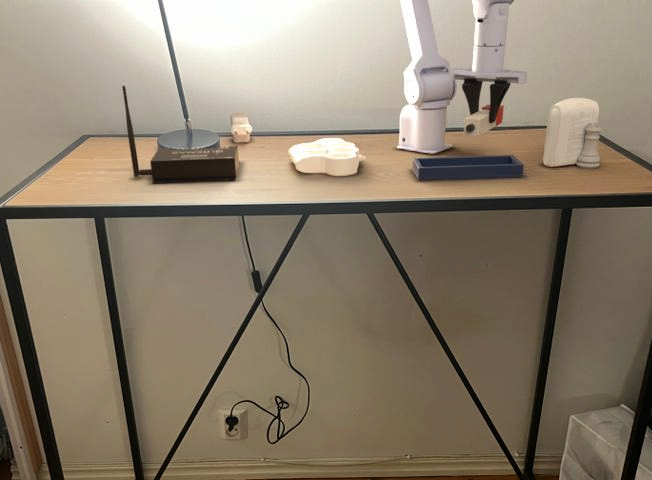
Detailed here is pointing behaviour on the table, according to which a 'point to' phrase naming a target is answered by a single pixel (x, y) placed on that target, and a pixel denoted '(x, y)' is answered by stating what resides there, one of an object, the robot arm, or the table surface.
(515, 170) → the tray
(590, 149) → the rook chess piece
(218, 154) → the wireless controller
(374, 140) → the table surface
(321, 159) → the white lobed tray
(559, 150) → the photo printer
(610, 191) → the table surface
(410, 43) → the robot arm
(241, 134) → the power adapter
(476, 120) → the marker
